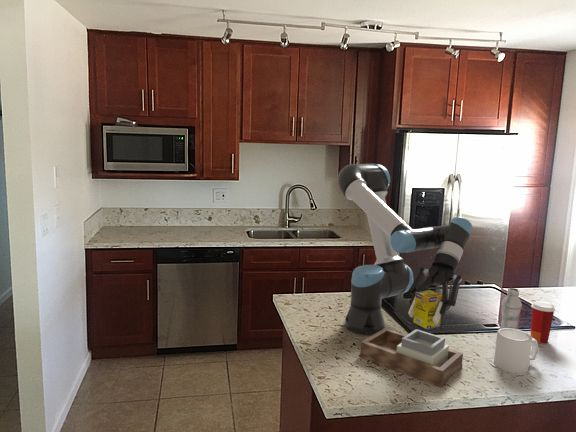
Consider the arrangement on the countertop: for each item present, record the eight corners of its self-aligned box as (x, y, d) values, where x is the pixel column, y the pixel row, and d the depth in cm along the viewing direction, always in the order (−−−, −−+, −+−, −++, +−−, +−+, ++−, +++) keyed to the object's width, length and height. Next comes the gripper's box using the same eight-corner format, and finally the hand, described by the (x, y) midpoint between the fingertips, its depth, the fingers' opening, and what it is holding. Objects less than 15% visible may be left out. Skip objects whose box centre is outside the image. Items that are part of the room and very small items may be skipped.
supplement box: (426, 331, 143) (428, 297, 141) (412, 324, 148) (415, 291, 146) (440, 328, 145) (443, 295, 144) (426, 321, 151) (429, 289, 149)
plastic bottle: (520, 347, 165) (526, 293, 162) (499, 345, 166) (505, 291, 163) (515, 339, 171) (521, 287, 168) (495, 337, 173) (501, 285, 169)
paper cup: (550, 338, 173) (554, 302, 171) (551, 346, 166) (556, 309, 164) (526, 334, 176) (530, 299, 174) (527, 342, 169) (531, 305, 167)
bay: (359, 356, 155) (360, 342, 154) (384, 340, 167) (385, 327, 167) (440, 387, 137) (441, 371, 136) (462, 367, 149) (463, 352, 149)
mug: (522, 355, 159) (525, 326, 157) (544, 370, 149) (548, 339, 147) (487, 359, 155) (490, 329, 154) (507, 374, 146) (511, 342, 144)
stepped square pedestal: (395, 362, 149) (397, 338, 147) (412, 350, 158) (414, 327, 156) (431, 375, 141) (433, 350, 140) (447, 362, 150) (449, 338, 149)
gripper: (481, 270, 149) (457, 333, 139) (421, 259, 162) (396, 315, 152) (476, 257, 144) (451, 322, 135) (415, 246, 157) (389, 304, 148)
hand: (422, 318), depth 144 cm, fingers closed on supplement box, 7 cm apart
